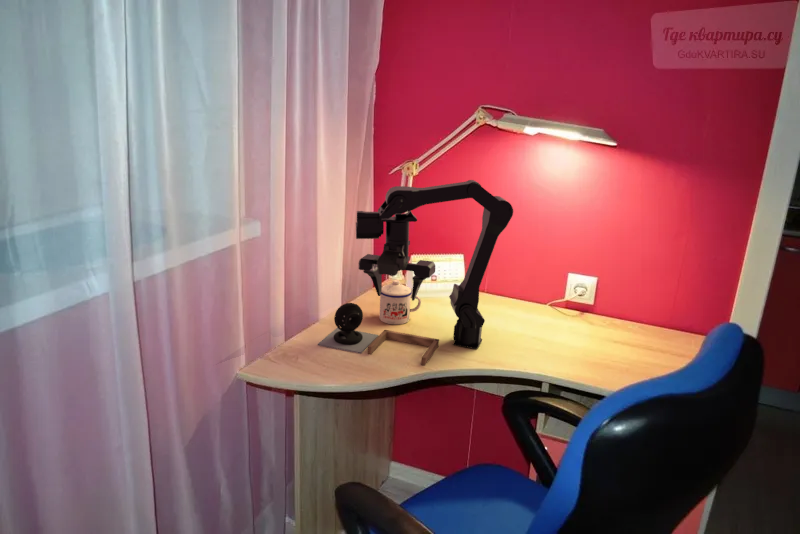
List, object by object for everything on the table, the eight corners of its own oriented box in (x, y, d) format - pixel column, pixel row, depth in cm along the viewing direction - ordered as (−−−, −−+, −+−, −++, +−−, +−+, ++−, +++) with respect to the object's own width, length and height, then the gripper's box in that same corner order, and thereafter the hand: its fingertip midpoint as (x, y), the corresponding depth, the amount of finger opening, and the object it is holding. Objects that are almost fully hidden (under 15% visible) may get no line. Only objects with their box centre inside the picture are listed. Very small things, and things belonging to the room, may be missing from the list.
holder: (438, 346, 155) (439, 339, 154) (425, 365, 144) (425, 357, 144) (384, 336, 160) (384, 329, 159) (367, 354, 149) (367, 346, 148)
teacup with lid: (380, 325, 167) (381, 285, 163) (377, 313, 175) (378, 275, 172) (422, 325, 168) (424, 286, 165) (417, 313, 177) (419, 276, 174)
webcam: (340, 347, 151) (341, 310, 148) (328, 336, 157) (329, 300, 154) (368, 342, 154) (369, 306, 152) (355, 331, 161) (356, 296, 158)
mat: (378, 336, 160) (378, 334, 159) (361, 353, 149) (361, 352, 148) (337, 328, 163) (337, 327, 163) (317, 345, 152) (317, 343, 152)
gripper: (349, 242, 143) (349, 303, 148) (423, 250, 138) (421, 313, 142) (367, 232, 154) (366, 289, 158) (436, 239, 148) (434, 298, 152)
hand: (396, 297), depth 152 cm, fingers open, 9 cm apart
